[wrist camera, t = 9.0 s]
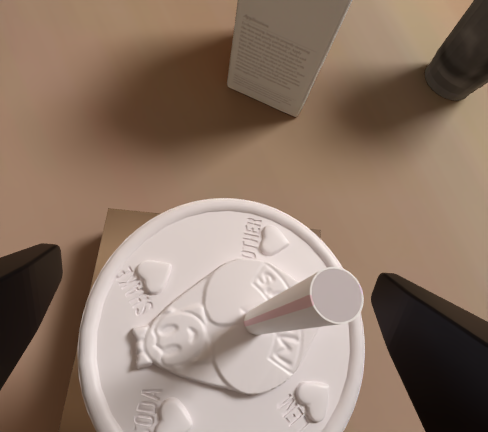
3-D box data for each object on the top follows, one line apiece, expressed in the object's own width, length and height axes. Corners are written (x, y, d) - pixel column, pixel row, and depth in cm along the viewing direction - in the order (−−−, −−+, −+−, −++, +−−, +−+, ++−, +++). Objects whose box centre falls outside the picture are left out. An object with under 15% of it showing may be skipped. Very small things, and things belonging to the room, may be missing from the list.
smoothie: (285, 390, 16) (741, 614, 3) (149, 429, 14) (-263, 1282, 1) (255, 262, 18) (430, 43, 5) (134, 284, 16) (-81, 62, 3)
